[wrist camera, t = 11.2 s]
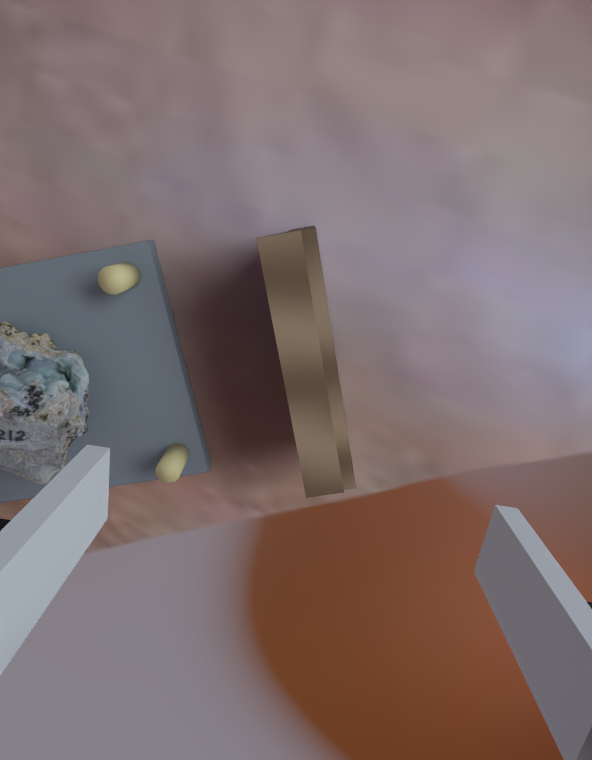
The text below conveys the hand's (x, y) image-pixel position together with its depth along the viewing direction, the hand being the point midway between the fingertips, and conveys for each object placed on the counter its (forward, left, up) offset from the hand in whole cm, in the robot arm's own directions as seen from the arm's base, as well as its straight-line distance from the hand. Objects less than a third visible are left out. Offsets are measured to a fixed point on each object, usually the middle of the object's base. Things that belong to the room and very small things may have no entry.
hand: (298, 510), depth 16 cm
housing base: (-1, -19, -21) cm, 28 cm away
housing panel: (-1, +1, -21) cm, 21 cm away
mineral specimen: (0, -20, -20) cm, 28 cm away
